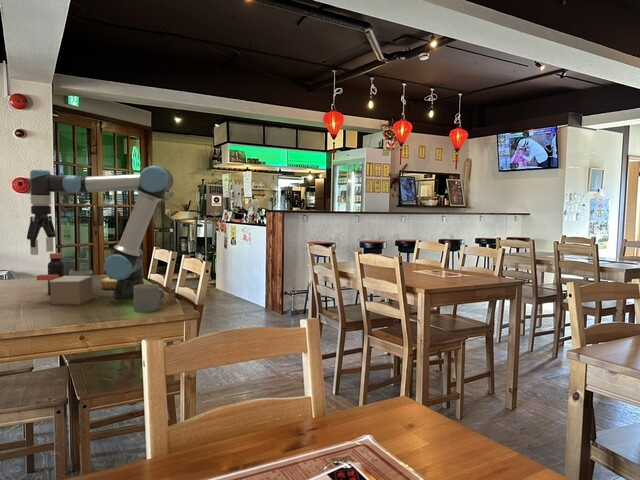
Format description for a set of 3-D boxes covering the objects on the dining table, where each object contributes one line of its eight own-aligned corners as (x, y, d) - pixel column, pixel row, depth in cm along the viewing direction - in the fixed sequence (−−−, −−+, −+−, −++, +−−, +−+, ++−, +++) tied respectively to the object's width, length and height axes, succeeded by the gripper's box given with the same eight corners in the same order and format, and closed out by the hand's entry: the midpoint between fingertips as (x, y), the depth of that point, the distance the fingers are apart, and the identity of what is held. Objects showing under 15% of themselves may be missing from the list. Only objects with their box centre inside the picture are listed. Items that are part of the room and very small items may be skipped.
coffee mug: (138, 313, 184) (138, 289, 183) (130, 308, 191) (130, 285, 191) (170, 308, 192) (170, 285, 192) (161, 304, 200) (161, 282, 199)
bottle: (64, 292, 224) (63, 252, 223) (64, 295, 218) (63, 253, 217) (48, 293, 220) (47, 253, 219) (48, 296, 215) (47, 254, 213)
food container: (63, 289, 231) (63, 270, 230) (71, 287, 237) (71, 269, 236) (85, 291, 229) (84, 271, 228) (93, 289, 235) (92, 270, 234)
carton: (92, 298, 211) (92, 277, 210) (79, 305, 197) (79, 282, 196) (65, 298, 209) (64, 277, 209) (50, 305, 195) (50, 282, 195)
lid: (92, 277, 210) (92, 272, 210) (79, 282, 196) (79, 277, 196) (46, 277, 208) (46, 272, 208) (30, 282, 194) (30, 277, 193)
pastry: (99, 291, 231) (97, 274, 230) (103, 287, 243) (102, 270, 242) (124, 289, 234) (123, 273, 233) (127, 285, 246) (126, 269, 245)
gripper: (46, 205, 210) (47, 250, 212) (16, 205, 186) (17, 256, 187) (63, 205, 211) (64, 250, 213) (35, 205, 187) (36, 256, 188)
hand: (42, 253), depth 200 cm, fingers open, 13 cm apart
